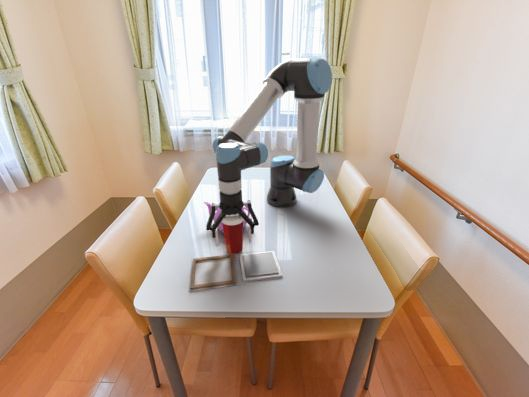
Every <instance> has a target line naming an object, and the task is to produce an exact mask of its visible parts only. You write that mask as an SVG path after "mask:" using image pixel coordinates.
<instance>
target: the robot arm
mask: <svg viewBox="0 0 529 397" xmlns="http://www.w3.org/2000/svg"><path fill="white" fill-rule="evenodd" d="M332 81H333V72H332V68H331V65H330V63H329V62H328V61H327V60H326V59H323V58H316V57H310V58H309V57H307V58H306V57H305V58H300V57H298V58H294V57H293V58H289V59H286V60H283V61H282V62H281V63H278V65H276V66H274V68H273V69H272V70H271V71H270V72H269V73H268V75H266V77H265V78H264V79H263V81H262V86H261V88H260V89H259V90H258V91H257V93H255V96H254V97H253V98H252V100H251V101H250V102H249V103H248V104H247V105H246V107H245V108H244V109H243V111H242V113H241V114H240V115H239V116H238V118H237V119H236V120H235V122H234V123H233V124H232V126H231V127H230V128H229V129H228V130H227V132H226V134H224V135H220V136H217V137H215V138H214V140H213V142H212V151H213V152H214V153H215V160H216V168H217V170H216V171H217V178H218V180H217V181H218V182H217V183H218V190H219V201H220V202H219V203H218V204H217V203H216V204H215V203H214V202H213V203H211V206H212V210H211V213H210V215H209V216H208V219H207V223H206V231H211V235H212V236H211V237H212V239H215V244H216V247H220V242H219V233H218V228H217V227H218V226H219V224H220V223H221V221H222V220H223V218H225V216H226V215H237V214H239V215H240V216H241V217H242V218H243V219H244V220H245V221H246V222H247V231H248V232H247V234H248V243H249V244H250V243H251V244H252V235H254V234H255V226H259V225H260V224H259V220H258V218H257V216H256V214H255V212H254V209H253V207H252V202H251V200H249V199H248V200H247V201H243V191H242V171H243V170H246V169H251V168H253V167H257V166H259V165H261V164H263V163H265V162H266V161H267V160H268V158H269V150H268V148H267V146H266V145H265V144H264V142H259V141H257V142H253V143H248V142H246V141H247V140H248V139H249V138H250V136H251V135H252V133H254V131H255V129H256V128H257V127H258V126H259V124H260V123H261V122H262V120H263V118H264V117H266V115H267V113H268V112H269V111H270V110H271V108H272V107H273V105H274V104H275V102H277V100H278V99H281V98H282V97H283V96H284V95H285V93H287V92H294V93H293V94H294V95H293V98H294V100H295V101H297V120H296V122H297V125H296V126H297V127H296V129H297V130H296V158H295V156H293V155H279V156H275V157H273V158H271V160H270V167H269V168H270V169H269V170H270V171H269V173H270V176H269V177H270V178H269V179H270V181H269V183H270V185H269V186H270V187H269V189H268V192H267V194H266V202H267V204H269V205H271V206H273V207H276V208H287V207H288V208H289V207H292V206H293V205H295V204H296V203H297V194H296V191H295V189H297V190H300V191H302V192H303V193H304V192H306V193H309V194H313V193H315V192H317V191H318V189H319V188H320V187H321V185H322V184H323V182H324V178H325V172H324V169H322V168H320V161H319V160H318V159H317V156H318V155H317V153H318V152H317V151H318V137H319V121H320V106H321V104H320V103H321V101H323V99H324V98H325V94H326V93H328V92H329V91H330V89H331V85H332V83H333V82H332ZM243 207H246V208H248V210H249V212H250V216H251V217H250V216H249V217H248V216H247V215H248V214H247V213H246V214H245V213H244V212H243V210H242V208H243ZM218 208H220V209H221V210H222V211H221V213H220V215H219V216H218V217H217V219H216V220H215V222H214V220H213V218H214V215H215V212H216V211H217V210H218ZM250 218H251V219H252V220H251V219H250Z"/></svg>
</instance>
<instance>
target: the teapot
mask: <svg viewBox="0 0 529 397" xmlns="http://www.w3.org/2000/svg"><path fill="white" fill-rule="evenodd" d="M203 204H205V205H206V206H207V208H208V215H209V216H210V213H211V210H212V203H210V202H208V201H207V202H206V201H204V202H203ZM242 210H243V212H244V213H245V214H246V215H247V216H248V217H249V218H250V219H251V220H252V221H253V218H252V217H250V216H251V214H250V212H249V210H248V208H246V207H245V206H243V208H242ZM221 211H222V210H221V209H220V208H218V210H217V211H215V215H214V218H213V223H214V222H215V220H216V219H217V217H218V216H219V215H220V213H221ZM246 211H247V212H246ZM246 225H248V223H247V222H246V221H245V220H244V221H243V228H244V227H245V226H246ZM217 230H220V232H221V233H224V230H223V224H222V222H221V223H220V224H219V226H218V227H217Z"/></svg>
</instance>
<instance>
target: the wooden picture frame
mask: <svg viewBox="0 0 529 397" xmlns="http://www.w3.org/2000/svg"><path fill="white" fill-rule="evenodd" d="M235 262H236V261H235V254H230V253H229V254H224V255H223V254H222V255H215V256H205V257H195V258H193V259H192V260H191V267H190V275H189V286H188V289H189V290H188V292H197V291H204V290H212V289H219V288H227V287H234V286H238V280H237V270H236V263H235Z"/></svg>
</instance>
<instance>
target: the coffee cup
mask: <svg viewBox="0 0 529 397" xmlns="http://www.w3.org/2000/svg"><path fill="white" fill-rule="evenodd" d="M243 221H244V219H243V218H242V217H241V216H240V215H239V214H237V215H226V216H225V218H223V220H222V221H221V222H222V224H223V230H224V232H223V235H224V242H225V248H226V252H227V253H228V254H229V255H230V254H232V255H239V254H240V253H242V251H243V243H244V242H243V241H244V240H243V239H244V227H243Z"/></svg>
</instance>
